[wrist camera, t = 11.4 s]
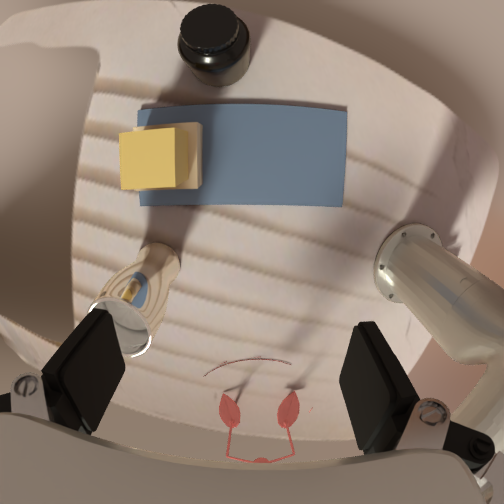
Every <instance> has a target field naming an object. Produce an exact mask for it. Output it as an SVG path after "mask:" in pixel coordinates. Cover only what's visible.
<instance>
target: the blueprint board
mask: <svg viewBox="0 0 504 504" xmlns="http://www.w3.org/2000/svg"><path fill="white" fill-rule="evenodd" d="M187 122H198V123H200V124H202V125H203V129H202V173H203V184H202V185H201V186H200V187H199V188H198V189H169V190H147V191H139V197H140V206H162V205H222V204H238V205H298V206H326V207H342V203H343V191H344V177H345V160H346V137H347V112H344V111H337V110H329V109H321V108H311V107H300V106H286V105H268V104H205V105H186V106H173V107H162V108H152V109H144V110H138V120H137V127H140V126H150V125H160V124H172V123H187Z"/></svg>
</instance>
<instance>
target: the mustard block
mask: <svg viewBox="0 0 504 504" xmlns="http://www.w3.org/2000/svg"><path fill="white" fill-rule="evenodd" d="M119 150H120V176H121V190H127V189H143V188H162V187H176V186H178V185H179V184H181V183H183V182H184V181H186V180H188V131H185V130H181V129H178V128H163V129H152V130H142V131H134V132H126V133H119Z"/></svg>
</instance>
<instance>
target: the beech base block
mask: <svg viewBox="0 0 504 504" xmlns="http://www.w3.org/2000/svg"><path fill="white" fill-rule="evenodd" d="M163 128H178V129H181V130H185V131H188V180H186V181H184V182H183V183H181V184H179V185H178V186H176V187H162V188H143V189H135V191H147V190H169V189H198V188H199V187H200V186H201V185H202V184H203V173H202V129H203V125H202V124H200V123H198V122H187V123H172V124H160V125H150V126H140V127H133V132H134V131H142V130H152V129H163Z"/></svg>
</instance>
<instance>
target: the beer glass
mask: <svg viewBox="0 0 504 504" xmlns="http://www.w3.org/2000/svg"><path fill="white" fill-rule="evenodd" d="M179 271H180V261H179V258H178V256H177V254H176V253H175V251H174V250H173V249H172V248H170V247H169V246H167V245H165V244H163V243H150V244H147V245H145V246H144V247H143V248H142V249H141V250H140V252H139V253H138V255H137V258H136V260H135V261H134V262H133V263H131V264H129V265H128V266H126V267H124V268H123V269H121V270H120V271H119V272H117V273H116V274H115V275H113V276H112V277H111V278H110V279H109V281H108V282H107V283H106V284H105V285H104V287H103V288H102V289H101V291H100V292H99V294H98V295H97V297H96V298H95V300H94V301H93V303H92V304H91V305H90V307H89V309H88V312H87V314H88V313H89V312H90V311H91V310H92V309H93V308H98V309H105V310H107V311H108V312H109V314H111V315H112V317H113V322H114V326H115V330H116V334H117V337H118V341H119V345H120V349H121V352H122V356H128V357H132V356H138V355H140V354H142V353H144V352H145V351H146V350H147V349H148V348H149V347H150V344H151V342H152V340H153V338H154V337H155V335H156V333H157V331H158V329H159V327H160V325H161V323H162V321H163V318H164V315H165V312H166V308H167V303H168V296H169V287H170V284H171V283H172V282H173V281H174V280H175V279H176V277H177V276H178V274H179Z"/></svg>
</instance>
